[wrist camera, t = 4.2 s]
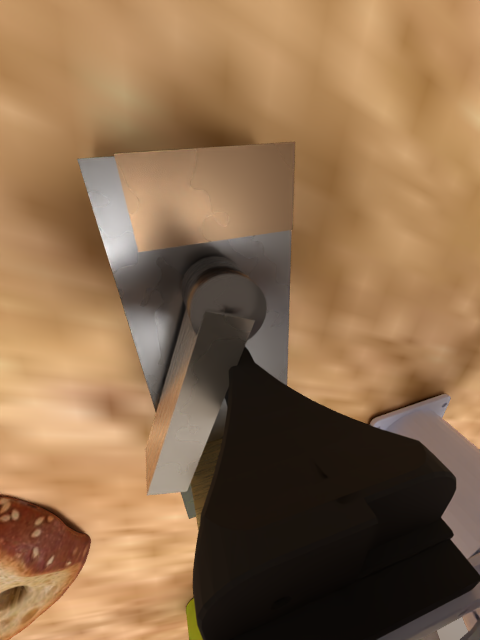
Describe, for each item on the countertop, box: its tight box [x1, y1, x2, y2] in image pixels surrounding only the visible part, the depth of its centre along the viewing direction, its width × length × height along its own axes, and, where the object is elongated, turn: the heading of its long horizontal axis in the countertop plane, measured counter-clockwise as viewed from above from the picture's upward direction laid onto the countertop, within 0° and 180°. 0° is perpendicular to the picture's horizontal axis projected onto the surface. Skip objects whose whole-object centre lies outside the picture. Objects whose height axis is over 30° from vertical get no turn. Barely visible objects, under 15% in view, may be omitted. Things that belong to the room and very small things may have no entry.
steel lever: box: [146, 256, 267, 495], centre depth 10 cm, size 9×2×2 cm, turn 160°
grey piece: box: [77, 142, 295, 519], centre depth 13 cm, size 18×6×5 cm, turn 4°
